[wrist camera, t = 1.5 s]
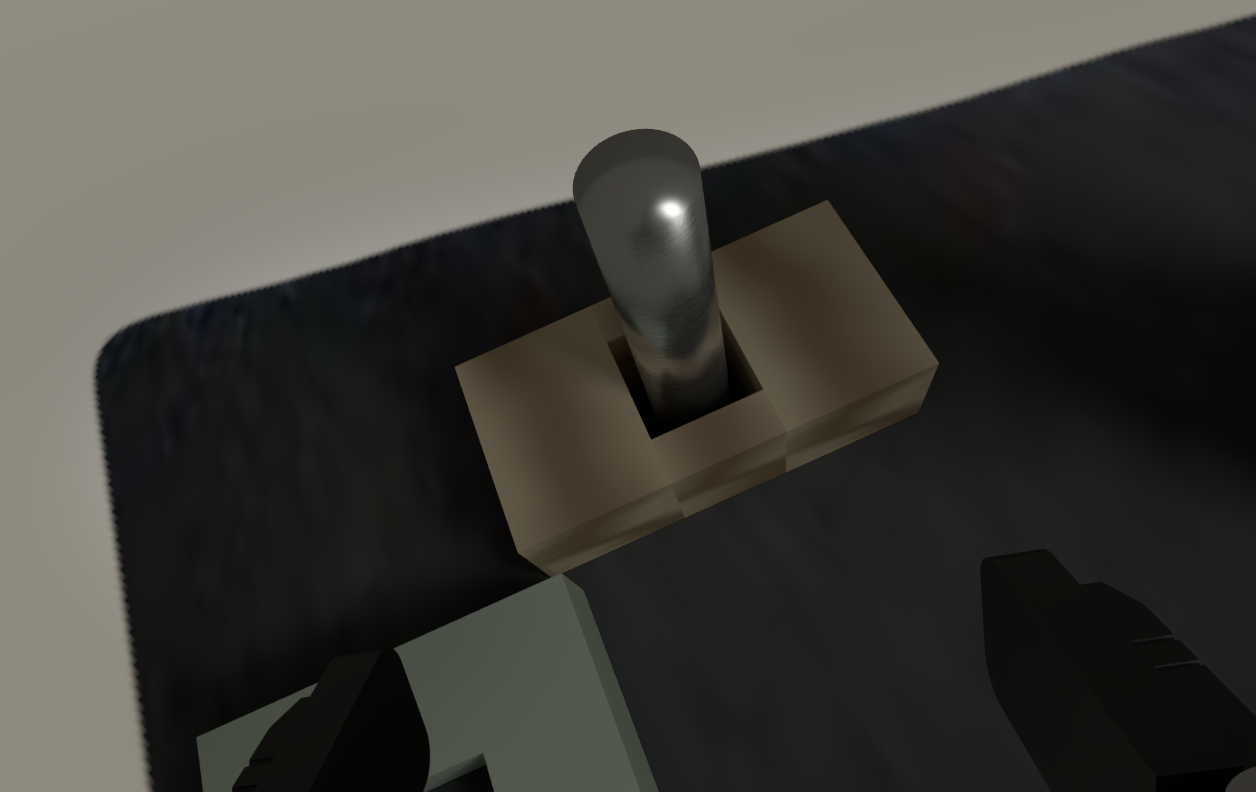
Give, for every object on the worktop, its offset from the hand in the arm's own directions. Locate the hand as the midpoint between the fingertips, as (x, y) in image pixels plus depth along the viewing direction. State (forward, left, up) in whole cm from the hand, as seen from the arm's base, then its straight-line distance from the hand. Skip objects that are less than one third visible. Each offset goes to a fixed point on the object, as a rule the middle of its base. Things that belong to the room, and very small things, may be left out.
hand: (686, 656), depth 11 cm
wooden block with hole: (-3, -11, -19) cm, 22 cm away
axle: (-3, -11, -19) cm, 22 cm away
